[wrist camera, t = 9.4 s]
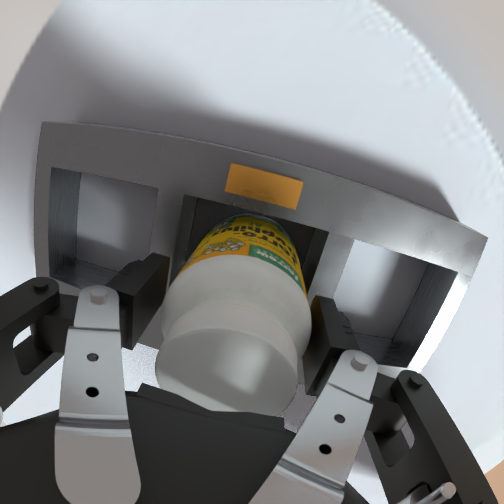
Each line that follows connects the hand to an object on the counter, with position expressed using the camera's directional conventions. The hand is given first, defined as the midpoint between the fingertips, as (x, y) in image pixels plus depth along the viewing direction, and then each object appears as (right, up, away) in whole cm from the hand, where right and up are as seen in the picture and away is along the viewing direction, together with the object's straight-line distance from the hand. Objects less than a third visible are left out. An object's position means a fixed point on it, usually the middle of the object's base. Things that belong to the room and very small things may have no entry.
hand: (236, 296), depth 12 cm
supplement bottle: (0, +1, +5) cm, 5 cm away
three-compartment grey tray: (0, +2, +4) cm, 5 cm away
